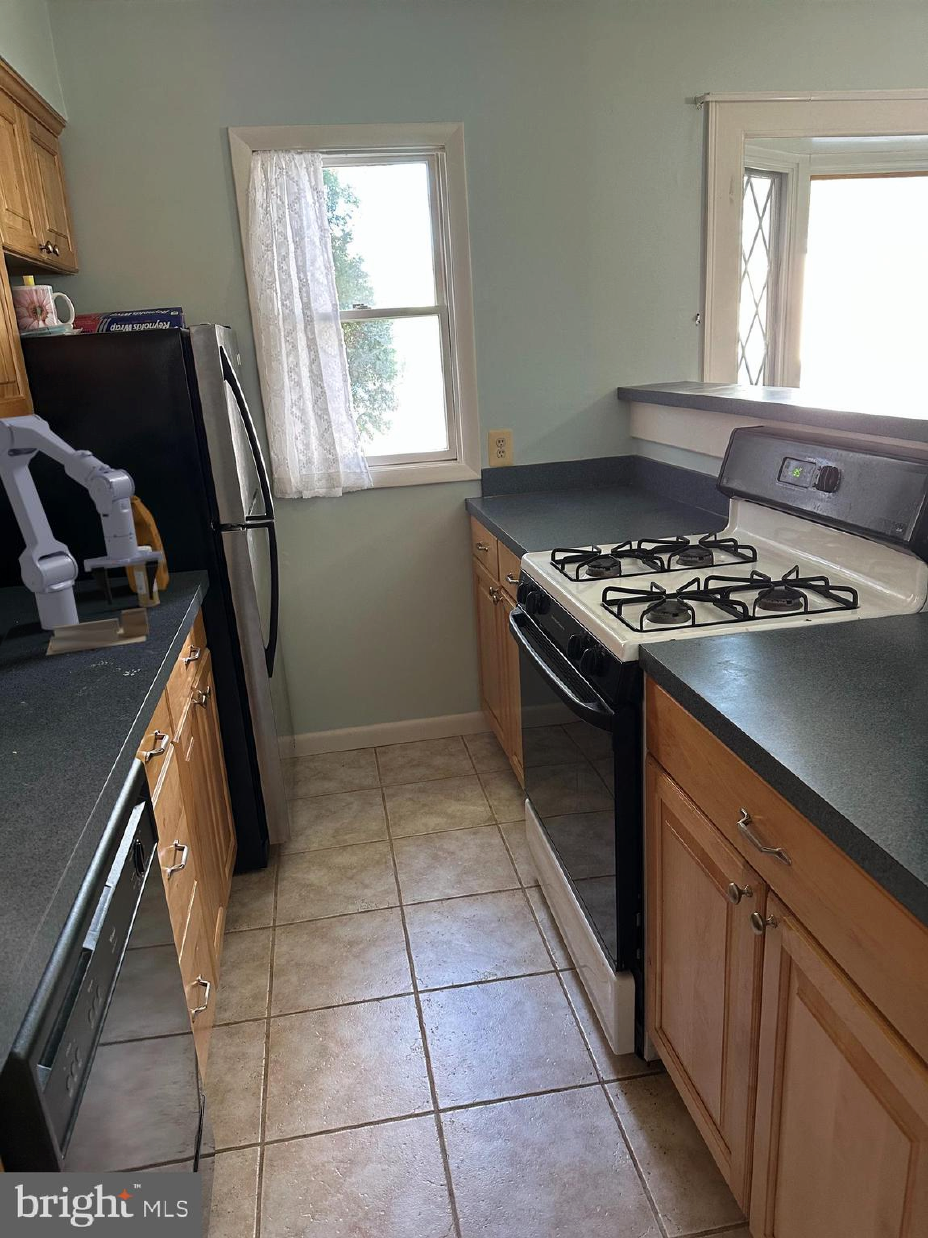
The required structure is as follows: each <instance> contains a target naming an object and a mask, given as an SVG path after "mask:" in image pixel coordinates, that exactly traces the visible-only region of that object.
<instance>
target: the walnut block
mask: <svg viewBox="0 0 928 1238" xmlns="http://www.w3.org/2000/svg"><path fill="white" fill-rule="evenodd" d="M120 614H121V615H120V617H121V624H122V627H123V630H124V636H125V638H130V637H137V636H145V635H146V636H149V633H150V631H149V630H150V628H149V622H148V616H147V610H146V607H139V608H132V609H125V610H121V613H120Z"/></svg>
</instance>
